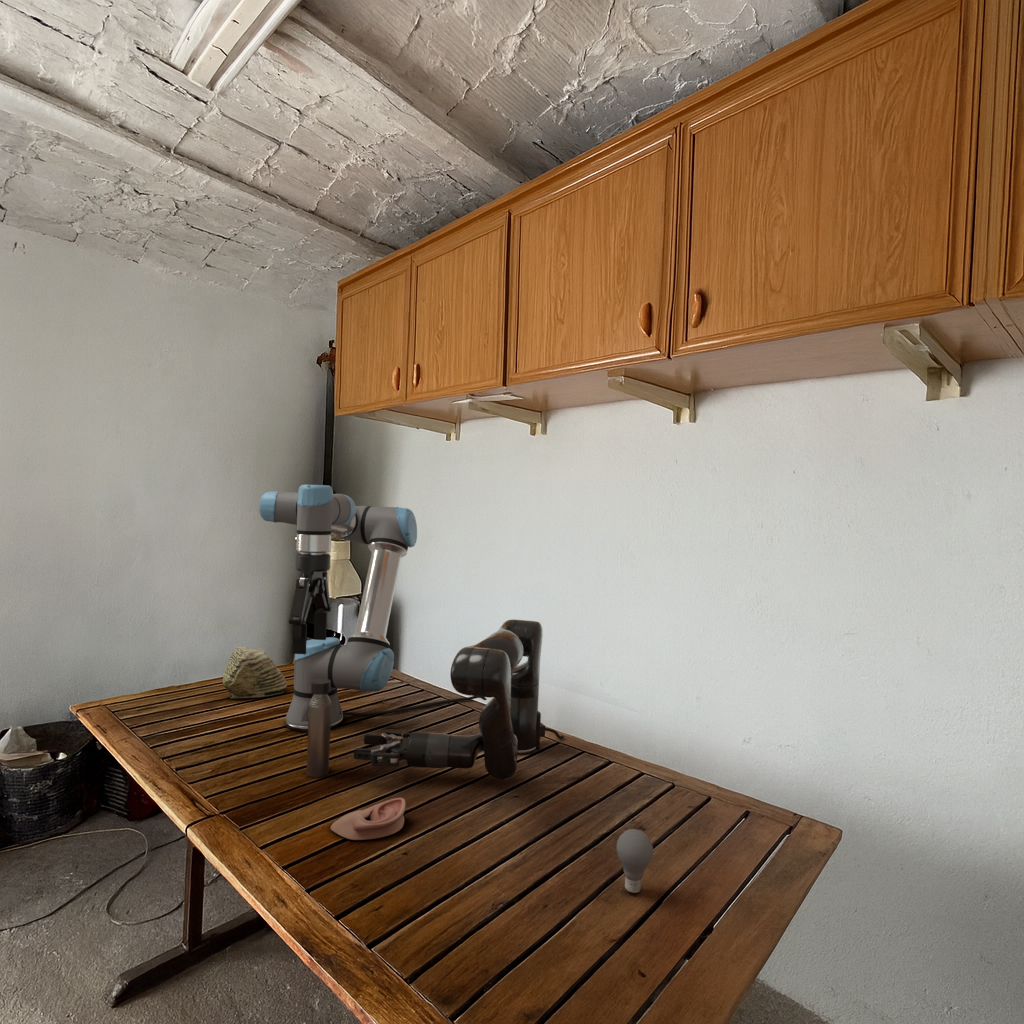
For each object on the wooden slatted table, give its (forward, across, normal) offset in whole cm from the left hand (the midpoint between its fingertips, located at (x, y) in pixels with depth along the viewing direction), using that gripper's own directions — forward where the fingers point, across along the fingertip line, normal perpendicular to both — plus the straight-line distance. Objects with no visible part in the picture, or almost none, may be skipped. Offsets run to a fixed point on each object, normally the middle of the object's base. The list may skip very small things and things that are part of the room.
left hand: (310, 646), depth 143 cm
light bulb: (+29, +37, +68) cm, 83 cm away
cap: (+8, -1, +2) cm, 9 cm away
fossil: (+29, -53, -35) cm, 70 cm away
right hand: (+23, -1, +12) cm, 26 cm away
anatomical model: (+29, +21, +20) cm, 41 cm away
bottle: (+29, -1, +2) cm, 29 cm away
